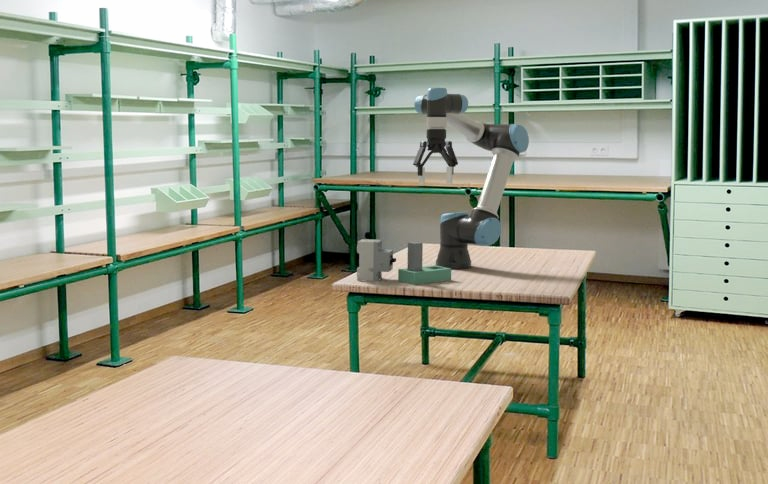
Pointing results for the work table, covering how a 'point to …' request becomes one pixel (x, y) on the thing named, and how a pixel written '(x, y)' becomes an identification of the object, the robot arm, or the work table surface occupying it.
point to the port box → (425, 275)
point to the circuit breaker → (373, 260)
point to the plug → (415, 256)
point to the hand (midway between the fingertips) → (435, 184)
